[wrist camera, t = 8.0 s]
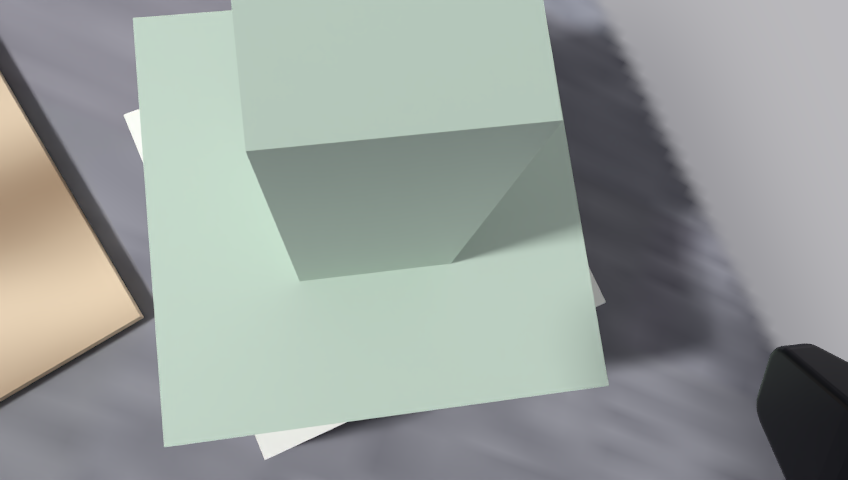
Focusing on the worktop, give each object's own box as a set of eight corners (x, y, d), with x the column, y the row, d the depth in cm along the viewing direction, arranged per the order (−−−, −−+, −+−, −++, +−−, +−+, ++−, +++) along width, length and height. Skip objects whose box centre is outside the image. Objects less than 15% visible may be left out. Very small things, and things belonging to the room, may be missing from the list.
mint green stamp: (595, 385, 20) (898, 373, 9) (173, 444, 18) (-70, 512, 8) (531, 5, 21) (719, -393, 11) (143, 36, 20) (-90, -375, 9)
